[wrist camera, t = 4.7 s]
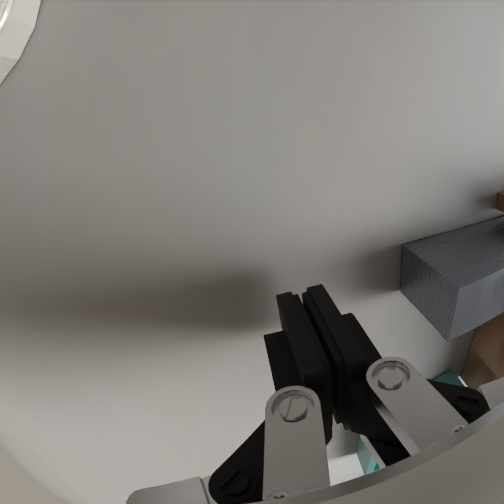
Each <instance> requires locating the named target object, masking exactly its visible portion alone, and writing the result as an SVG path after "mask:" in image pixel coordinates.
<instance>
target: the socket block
mask: <svg viewBox="0 0 504 504" xmlns="http://www.w3.org/2000/svg"><path fill="white" fill-rule="evenodd" d="M497 210H499V211H502V212H504V192H499V193H498V205H497ZM460 377H461V378H462V380H463V381H464V382H465V384H466V385H467V386H468V387H470V388H473V389H476V390H477V389H479V387H480V386H481V385H483V384H486V383H489V382H492V381H494V380H497V379H500V378H502V377H504V312H503V313H501V314H499V315H498V316H496V317H494V318H492V319H491V320H489V321H487V322H485V323H484V324H482V325H480V326H478V327H477V328H476V332H475V335H474V338H473V341H472V344H471V348H470V351H469V353H468V356H467V359H466V362H465V365H464V368H463V370H462V373H461V375H460Z"/></svg>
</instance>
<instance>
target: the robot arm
mask: <svg viewBox="0 0 504 504" xmlns="http://www.w3.org/2000/svg"><path fill="white" fill-rule="evenodd" d="M306 291H307V292H304V293H302V300H303V304H302V302H301V300H300V298H299V295H298V294H296V295H292V292H287V293H283V294H279V295H276V299H277V304H278V309H279V314H280V320H281V325H282V330H283V331H279V332H275V333H271V334H267V335H264V340H265V344H266V349H267V353H268V358H269V363H270V367H271V372H272V376H273V381H274V386H275V390H276V392H275V393H274V394H273V395H272V396H271V397H270V398H269V400H268V401H267V404H266V408H265V420H264V421H263V423H262V424H261V425H260V426H259V427H258V428H257V429H256V430H255V431H254V432H253V433H252V434H251V436H250V437H249V438H248V439H247V440H246V441H245V442H244V443H243V444H242V445H241V446H240V447H239V448H238V449H237V450H236V451H235V452H234V453H233V454H232V455H231V456H230V457H229V458H228V459H227V460H226V461H225V462H224V463H223V464H222V465H221V466H220V467H219V468H218V469H217V470H216V471H215V472H214V473H213V474H212V476H208V477H205V478H200V477H195V478H191V479H187V480H183V481H179V482H174V483H170V484H165V485H160V486H155V487H149V488H144V489H140V490H137V491H135V492H133V493H132V494H131V495H130V496H129V498H128V500H127V501H126V504H504V377H502V378H500V379H497V380H494V381H492V382H489V383H486V384H483V385H481V386H480V387H479V389H477V390H476V389H473V388H470V387H464V386H459V385H453V384H448V383H443V382H438V381H433V380H429V379H425V378H424V377H423V376H422V375H421V374H420V373H419V372H418V371H417V370H416V369H415V368H414V367H413V366H412V365H411V364H410V363H409V362H408V361H406V360H404V359H401V358H398V357H386V358H382V357H381V355H380V354H379V352H378V351H377V349H376V348H375V346H374V345H373V343H372V342H371V340H370V339H369V337H368V336H367V334H366V333H365V331H364V330H363V328H362V327H361V325H360V324H359V322H358V321H357V319H356V318H355V316H354V315H353V314H352V313H347V314H344V315H341V313H340V312H339V310H338V309H337V307H336V305H335V304H334V302H333V301H332V299H331V297H330V296H329V294H328V293H327V291H326V290H325V288H324V286H323V285H322V284H320V285H316V286H312V287H308V288H307V290H306ZM333 416H334V419H335V421H336V423H337V424H339V423H342V424H343V426H344V429H345V430H347V429H351V431H352V432H355V433H358V434H360V437H361V439H362V441H363V443H364V444H365V446H366V447H367V449H368V450H369V452H370V453H371V455H372V457H373V458H374V460H375V461H376V463H377V464H378V466H379V467H380V470H378V471H375V472H372V473H370V474H367V475H364V476H361V477H359V478H356V479H353V480H350V481H347V482H343V483H340V484H337V485H334V486H330V478H329V469H328V460H327V452H326V446H327V444H328V443H329V441H330V440H331V438H332V425H333Z"/></svg>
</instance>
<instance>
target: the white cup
mask: <svg viewBox="0 0 504 504" xmlns="http://www.w3.org/2000/svg"><path fill="white" fill-rule="evenodd" d="M40 4H41V0H0V84H1V83H2V82H3V80H4V79H5V77H6V76H7V75H8V73H9V72H10V71H11V69H12V68H13V67H14V65H15V64H16V63H17V62H18V60H19V59H20V57H21V54H22V52H23V50H24V48H25V46H26V44H27V42H28V40H29V38H30V36H31V34H32V32H33V30H34V28H35V25H36V20H37V16H38V11H39V7H40Z"/></svg>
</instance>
